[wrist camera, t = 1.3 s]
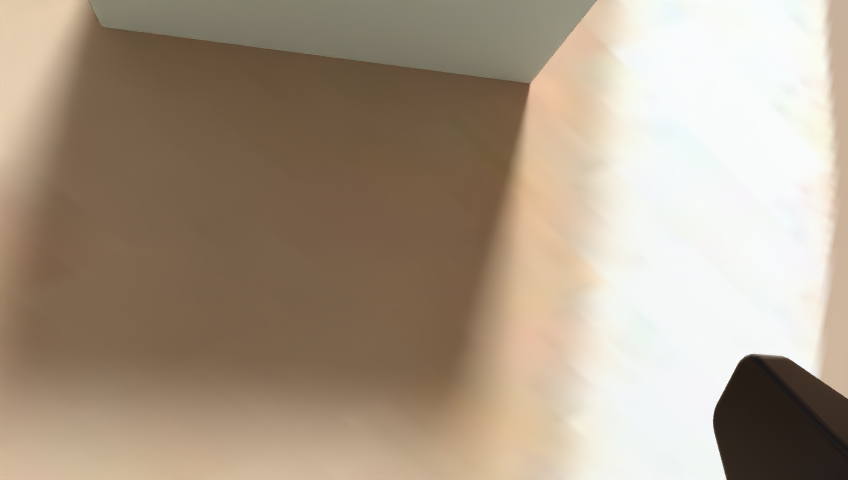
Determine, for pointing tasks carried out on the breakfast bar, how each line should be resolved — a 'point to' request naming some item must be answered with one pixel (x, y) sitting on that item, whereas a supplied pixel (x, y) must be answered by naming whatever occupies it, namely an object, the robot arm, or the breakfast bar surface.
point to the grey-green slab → (372, 29)
